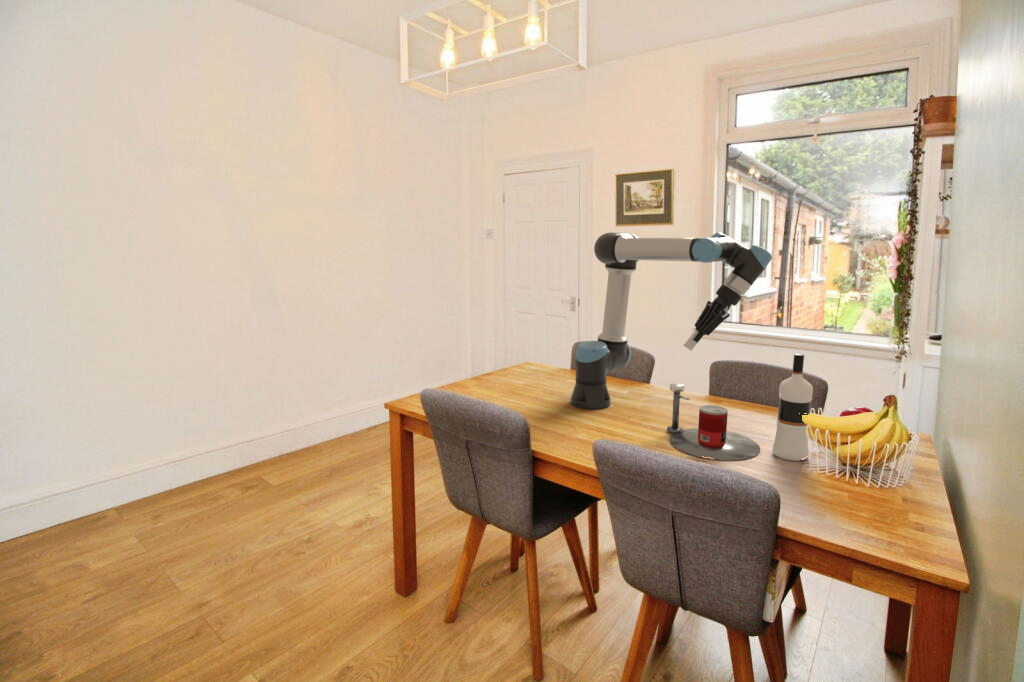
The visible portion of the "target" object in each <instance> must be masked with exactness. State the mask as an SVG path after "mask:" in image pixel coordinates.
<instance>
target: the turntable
mask: <svg viewBox="0 0 1024 682" xmlns="http://www.w3.org/2000/svg"><path fill="white" fill-rule="evenodd" d="M669 440H670V441H669V443H670V442H671V443H670V444H671V446H672V447H674V446H675V447H676V448H678V449H679V450H678V449H677V450H678V451H680V450H682V451H684V452H686V453H685V454H687V453H688V454H687V455H690V454H691V455H690V456H693V455H695V456H694V457H696V456H700V457H702V456H704V457H711V458H713V459H718V460H717V461H721V460H723V461H726V462H737V461H744V460H745V461H746V460H750V459H753V458H755V457H757V456H758V455H759V454H760V453H761V447H760V445H759V444H758V443H757V442H756V441H754V440H753V439H751V438H750V437H747V436H745V435H742V434H740V433H736V432H733V431H728V430H726V443H725V445H724V446H723V447H720V448H712V447H706V446H703V445H701V444H700V443H699V442H698V428H697V427H695V428H693V427H692V428H686V429H683V432H682V433H673V434H672V433H671V434H670V436H669ZM675 447H674V448H675ZM676 448H675V449H676ZM682 451H681V452H682ZM684 452H683V453H684ZM700 457H699V458H700ZM723 461H722V462H723Z"/></svg>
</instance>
